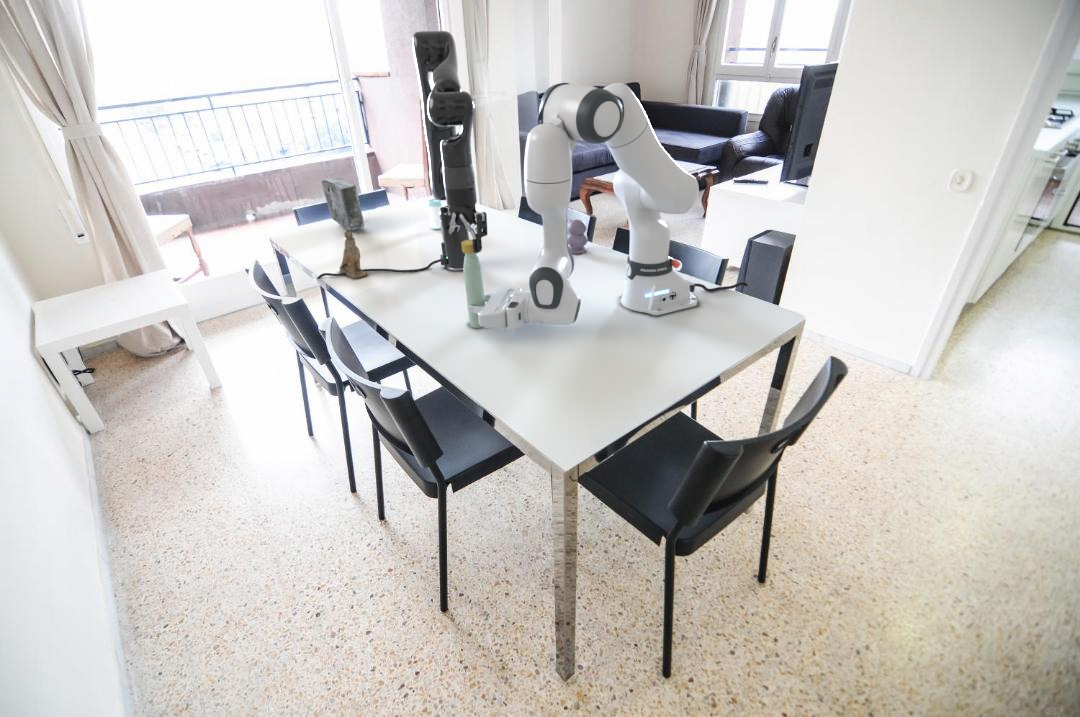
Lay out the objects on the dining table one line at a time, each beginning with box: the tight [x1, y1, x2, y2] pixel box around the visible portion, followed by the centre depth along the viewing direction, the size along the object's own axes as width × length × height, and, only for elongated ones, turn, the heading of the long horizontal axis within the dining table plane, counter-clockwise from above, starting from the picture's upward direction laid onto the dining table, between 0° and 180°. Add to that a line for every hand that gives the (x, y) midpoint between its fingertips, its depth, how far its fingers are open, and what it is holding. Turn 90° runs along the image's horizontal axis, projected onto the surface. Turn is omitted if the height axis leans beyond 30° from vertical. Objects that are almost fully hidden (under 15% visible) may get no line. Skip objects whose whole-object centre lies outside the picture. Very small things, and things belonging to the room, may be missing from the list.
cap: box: [461, 239, 474, 253], centre depth 130 cm, size 4×4×2 cm
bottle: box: [462, 253, 486, 329], centre depth 135 cm, size 5×5×23 cm
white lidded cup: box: [426, 198, 445, 230], centre depth 220 cm, size 7×7×12 cm
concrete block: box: [321, 177, 365, 231], centre depth 223 cm, size 27×9×20 cm, turn 36°
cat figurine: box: [567, 218, 589, 255], centre depth 187 cm, size 9×8×12 cm
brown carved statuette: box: [339, 230, 367, 280], centre depth 174 cm, size 12×6×18 cm, turn 43°
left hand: (467, 249), depth 130 cm, fingers open, 7 cm apart
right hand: (473, 303), depth 138 cm, fingers closed on bottle, 5 cm apart
